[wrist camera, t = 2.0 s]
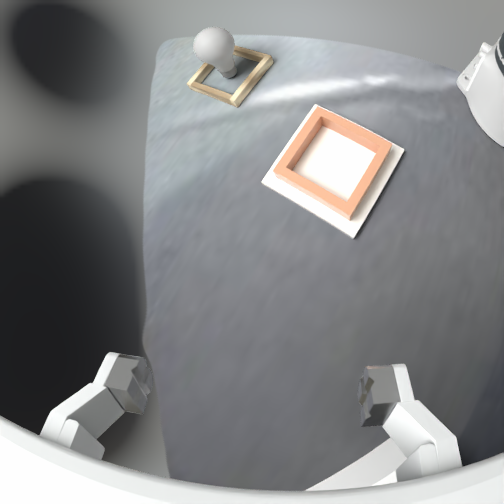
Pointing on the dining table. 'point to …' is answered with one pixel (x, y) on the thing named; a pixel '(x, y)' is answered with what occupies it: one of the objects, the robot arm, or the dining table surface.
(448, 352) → the dining table surface
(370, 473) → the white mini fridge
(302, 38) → the dining table surface
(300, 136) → the socket
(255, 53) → the square wooden frame
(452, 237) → the dining table surface
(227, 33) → the lightbulb
